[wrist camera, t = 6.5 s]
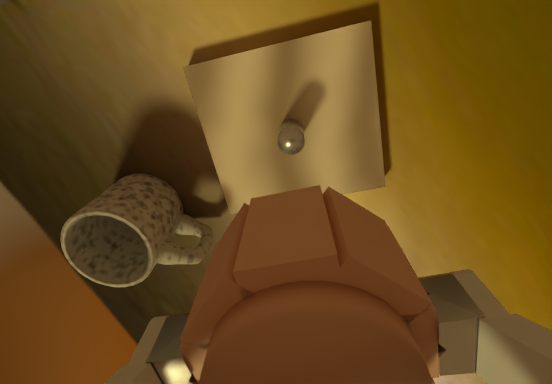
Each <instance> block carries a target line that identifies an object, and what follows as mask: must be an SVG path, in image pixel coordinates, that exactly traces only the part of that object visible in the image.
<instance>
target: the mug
mask: <svg viewBox="0 0 552 384" xmlns="http://www.w3.org/2000/svg"><path fill="white" fill-rule="evenodd" d="M175 233H178V234H182V235H195V236H198V237H200V238H201V240H200V243H199V245H198V246H197V247H196V248H195V249H187V248H184V247H181V246H179V245H177V244H175V243H173V242H171V239H172V237H173V236H174V234H175ZM60 240H61V246H62V250H63V252H64V254H65V257H66V258H67V260H68V261H69V263H70V264H71V265H72V266H73V267H74V268H75V269H76V270H77V271H78V272H79V273H81V274H82V275H83V276H85V277H86V278H88V279H90V280H92V281H94V282H96V283H99V284H102V285H105V286H111V287H128V286H133V285H135V284H138V283H140V282H142V281H143V280H144V279H145V278H147V277H148V275H149V274H150V272H151V271H152V269H153V268H154V266H155V264H156V263H160V264H164V265H170V264H199V263H200V261H201V260H202V259H203V258H204V257H205V256H206V255H207V253H208V252H209V249H210V247H211V245H212V242H213V232H212V228H210V227H209V226H207V225H205V224H203V223H201V222H199V221H197V220H195V219H194V218H192V217H190V216H189V215H186V214H183V205H182V201H181V199H180V197H179V195H178V194H177V192H176V191H175V190H174V189H173V187H172V186H170V185H169V184H168V183H167V182H165V181H164V180H162V179H160V178H158V177H156V176H153V175H150V174H143V173H136V174H130V175H127V176H125V177H122V178H121V179H120V180H118V181H117V182H116V183H114V184H113V185H112V186H110V187H109V188H108V189H107V190H105V191H104V192H103V193H101V194H100V195H99V196H97V197H96V198H95V199H94V200H92V201H91V202H90V203H88V204H87V205H86V206H84V207H83V208H82V209H81V210H79V211H78V212H77V213H75V214H74V215H73V216H71V217H70V218H69V219H68V220H67V221H66V222H65V224H64V226H63V228H62V230H61V238H60Z"/></svg>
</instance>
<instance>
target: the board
mask: <svg viewBox="0 0 552 384" xmlns="http://www.w3.org/2000/svg"><path fill="white" fill-rule="evenodd" d="M183 69H184V72H185V75H186V78H187V82H188V85H189V88H190V91H191V94H192V97H193V100H194V103H195V106H196V109H197V113H198V116H199V119H200V122H201V125H202V128H203V131H204V134H205V137H206V141H207V144H208V147H209V150H210V153H211V156H212V159H213V162H214V165H215V168H216V172H217V175H218V178H219V181H220V184H221V187H222V190H223V193H224V196H225V199H226V203H227V206H228V209H229V212H230V215H231V214H236V213H238V212H239V210H240V209H241V207H242V206H243V204H244V203H246V204H248V205H250V201H251V198H256V197H261V196H266V195H271V194H276V193H281V192H287V191H292V190H297V189H302V188H307V187H312V186H317V185H320V187H321V191H322V194H323V193H324V192H325V190H326V189H327V188H328V186H329V187H330V188H332V189H334V190H335V191H337V192H339V193H340V194H347V193H353V192H358V191H364V190H370V189H375V188H381V187H385V175H384V163H383V152H382V140H381V128H380V117H379V105H378V93H377V82H376V70H375V58H374V47H373V35H372V23H371V20H370V21H366V22H362V23H358V24H354V25H350V26H346V27H342V28H338V29H334V30H330V31H326V32H322V33H318V34H314V35H310V36H305V37H301V38H297V39H293V40H289V41H285V42H281V43H277V44H273V45H269V46H265V47H261V48H257V49H253V50H249V51H245V52H241V53H237V54H233V55H229V56H225V57H221V58H217V59H213V60H209V61H205V62H201V63H197V64H193V65H189V66H185V67H183ZM287 119H295V120H297V121H299V122H300V123H301V125H302V127H303V133H304V139H305V144H304V147H303V149H302V150H301V151H300V152H299V153H297V154H294V155H288V154H285V153H283V152H282V151H281V150H280V148H279V146H278V134H279V127H280V125H281V124H282V122H284V121H285V120H287Z"/></svg>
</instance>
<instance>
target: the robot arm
mask: <svg viewBox="0 0 552 384" xmlns="http://www.w3.org/2000/svg"><path fill="white" fill-rule="evenodd" d="M418 279H419V280H420V282H421V284H422V285H423V287H424V289H425V291H426V292H427V294H428V296H429V297H430V299H431V301H432V303H433V304H434V306H435V308H436V310H437V341H438V372H439V374H440V376H442V375H454V374H465V373H476V375H478V376H479V377H480V378H481V379H483V380H484V381H485V382H486V383H488V384H552V331H551V330H549V329H547V328H545V327H543V326H540V325H538V324H536V323H534V322H532V321H530V320H528V319H526V318H524V317H522V316H520V315H518V314H511V315H510V314H509V313H508V312H507V311H506V310H505V308H504V307H503V306H502V305H501V304H500V303H499V301H498V300H497V299H496V298H495V297H494V296H493V294H492V293H491V292H490V291H489V290H488V289H487V287H486V286H485V285H484V284H483V283H482V282H481V280H480V279H479V278H478V277H477V276H476V275H475V273H474V272H473V271H471V270H469V269H467V270H461V271H455V272H449V273H444V274H438V275H432V276H426V277H419V278H418ZM189 314H190V313H182V314H174V315H169V316H161V317H154V318H153V319H152V320H151V321H150V322H149V324H148V326H147V328H146V330H145V332H144V334H143V336H142V338H141V340H140V342H139V344H138V346H137V348H136V350H135V352H134V354H133V356H132V357H131V359H130V362H129V363H128V365H127V366H125V367H121V369H119V370H118V371H117V372H116V373H115V374H114V375H112V376H111V377H110V378H109V379H108V380H107V381H106V382H105V383H104V384H198V383H197V381H196V379H195V377H194V375H193V373H192V370H191V368H190V366H189V364H188V362H187V360H186V358H185V356H184V354H183V353H182V351H181V349H180V344H181V341H182V340H181V339H180V338H181V335H182V332H183V330H184V327H185V324H186V322H187V319H188V316H189Z"/></svg>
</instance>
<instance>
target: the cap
mask: <svg viewBox="0 0 552 384" xmlns="http://www.w3.org/2000/svg"><path fill="white" fill-rule="evenodd" d="M180 339H181V340H182V341H181V344H180V349H181V351H182V353H183V354H184V356H185V358H186V360H187V362H188V364H189V366H190V368H191V370H192V373H193V375H194V377H195V379H196V381H197V383H198V384H435V383H434V381H433V378H435V377H439V372H438V341H437V310H436V308H435V306H434V304H433V303H432V301H431V299H430V297H429V296H428V294H427V292H426V291H425V289H424V287H423V285H422V284H421V282H420V280H419V279H418V277H417V275H416V273H415V272H414V270H413V268H412V266H411V265H410V263H409V261H408V260H407V258H406V256H405V254H404V253H403V251H402V249H401V248H400V246H399V244H398V242H397V241H396V239H395V237H394V235H393V234H392V232H391V230H390V229H389V227H388V226H387V224H386V222H385V221H384V220H383V219H381V218H380V217H378V216H376V215H375V214H373V213H371V212H370V211H368V210H366V209H365V208H363V207H361V206H360V205H358V204H357V203H355V202H353V201H352V200H350V199H348V198H347V197H345V196H343V195H342V194H340V193H339V192H337V191H335V190H334V189H332V188H330V187H329V186H328V188H327V189H326V190H325V192H324V193H323V194H322V191H321V187H320V185H317V186H312V187H307V188H302V189H297V190H292V191H287V192H281V193H276V194H271V195H266V196H261V197H256V198H251V201H250V205H248V204H246V203H244V204H243V206H242V207H241V209H240V210H239V212H238V213H237V215H236V216H235V218H234V220H233V221H232V223H231V224H230V226H229V227H228V229H227V230H226V232H225V233H224V235H223V236H222V238H221V239H220V241H219V242H218V244H217V246H216V247H215V249H214V250H213V252H212V255H211V257H210V260H209V263H208V265H207V268H206V271H205V274H204V276H203V279H202V282H201V284H200V287H199V290H198V292H197V295H196V298H195V300H194V303H193V306H192V308H191V311H190V314H189V316H188V319H187V322H186V324H185V327H184V330H183V332H182V335H181V338H180Z"/></svg>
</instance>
